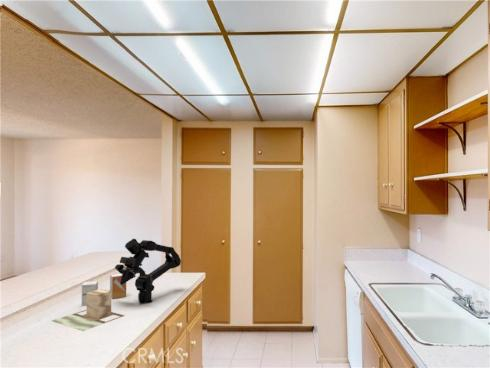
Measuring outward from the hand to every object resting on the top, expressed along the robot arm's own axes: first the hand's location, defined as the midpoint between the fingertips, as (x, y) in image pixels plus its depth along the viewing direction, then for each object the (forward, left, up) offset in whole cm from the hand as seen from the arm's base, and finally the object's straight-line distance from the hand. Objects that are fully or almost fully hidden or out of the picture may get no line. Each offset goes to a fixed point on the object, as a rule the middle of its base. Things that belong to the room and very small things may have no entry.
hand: (120, 284), depth 180 cm
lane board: (+16, +9, -13) cm, 23 cm away
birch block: (+11, +6, -12) cm, 18 cm away
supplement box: (+14, -16, -14) cm, 25 cm away
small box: (-2, -26, -14) cm, 30 cm away
